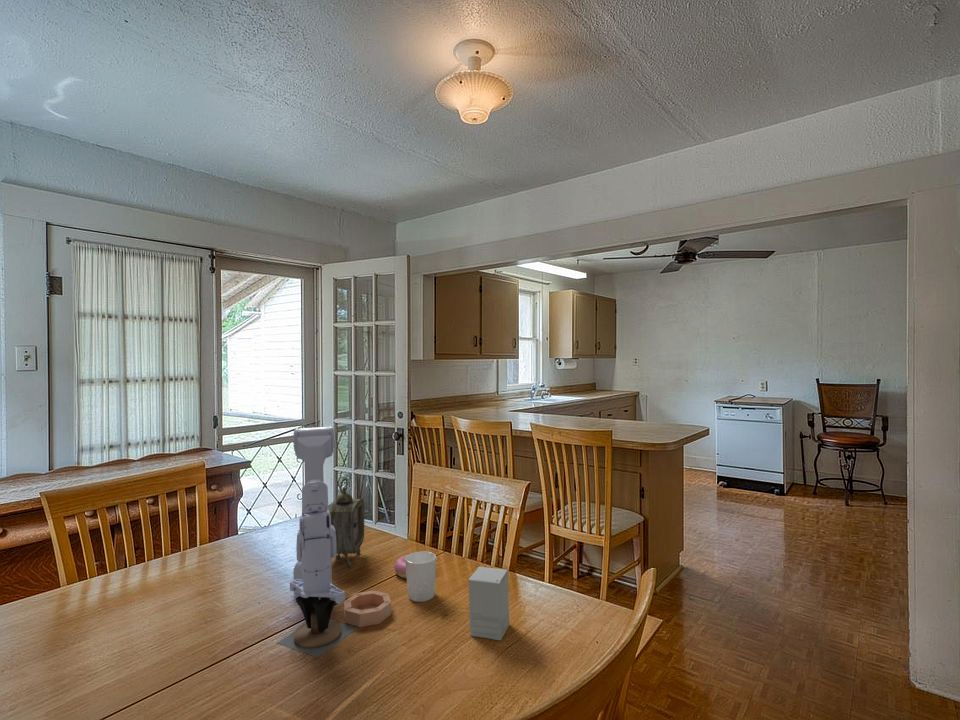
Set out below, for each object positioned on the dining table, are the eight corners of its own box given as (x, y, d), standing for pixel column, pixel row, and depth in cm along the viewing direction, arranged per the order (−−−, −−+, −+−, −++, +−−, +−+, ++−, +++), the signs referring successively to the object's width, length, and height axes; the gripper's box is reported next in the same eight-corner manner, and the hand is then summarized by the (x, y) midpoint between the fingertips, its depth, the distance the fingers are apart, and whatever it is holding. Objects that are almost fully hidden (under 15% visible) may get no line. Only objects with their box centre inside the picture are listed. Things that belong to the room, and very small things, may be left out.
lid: (283, 641, 108) (283, 618, 108) (317, 619, 117) (317, 598, 117) (318, 653, 104) (317, 629, 104) (350, 629, 113) (350, 607, 113)
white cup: (431, 604, 125) (430, 564, 124) (401, 602, 126) (400, 562, 126) (440, 589, 132) (439, 552, 132) (412, 587, 134) (411, 550, 134)
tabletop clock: (352, 570, 145) (351, 484, 145) (321, 570, 145) (319, 485, 145) (365, 550, 160) (363, 472, 160) (336, 551, 160) (335, 473, 160)
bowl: (335, 622, 117) (334, 607, 117) (364, 601, 127) (364, 587, 127) (370, 632, 112) (370, 617, 112) (399, 610, 122) (398, 596, 122)
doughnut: (440, 569, 145) (440, 555, 145) (416, 584, 136) (415, 569, 136) (411, 561, 151) (411, 548, 151) (386, 575, 142) (385, 561, 142)
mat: (276, 645, 108) (276, 642, 108) (317, 619, 119) (317, 616, 119) (318, 660, 102) (317, 657, 102) (357, 630, 113) (357, 628, 113)
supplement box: (510, 624, 115) (509, 569, 115) (501, 641, 108) (499, 583, 108) (479, 619, 117) (478, 565, 117) (468, 636, 110) (467, 579, 110)
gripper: (278, 567, 110) (279, 629, 110) (328, 580, 104) (329, 645, 104) (302, 556, 116) (304, 614, 117) (351, 567, 110) (352, 628, 110)
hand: (317, 628), depth 111 cm, fingers closed on lid, 3 cm apart
